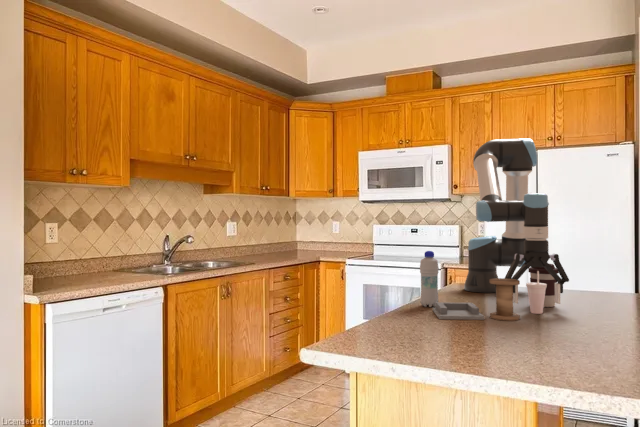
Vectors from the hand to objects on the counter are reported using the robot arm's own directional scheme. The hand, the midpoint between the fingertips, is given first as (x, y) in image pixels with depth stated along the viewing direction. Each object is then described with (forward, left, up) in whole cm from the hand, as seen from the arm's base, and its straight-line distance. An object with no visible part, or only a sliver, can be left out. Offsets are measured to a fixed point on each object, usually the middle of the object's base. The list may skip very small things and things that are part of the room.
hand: (536, 302), depth 164 cm
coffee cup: (-13, +7, -3) cm, 15 cm away
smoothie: (0, 0, -3) cm, 3 cm away
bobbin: (+9, -13, -3) cm, 16 cm away
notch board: (+5, -27, -3) cm, 28 cm away
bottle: (-10, -34, -3) cm, 36 cm away
